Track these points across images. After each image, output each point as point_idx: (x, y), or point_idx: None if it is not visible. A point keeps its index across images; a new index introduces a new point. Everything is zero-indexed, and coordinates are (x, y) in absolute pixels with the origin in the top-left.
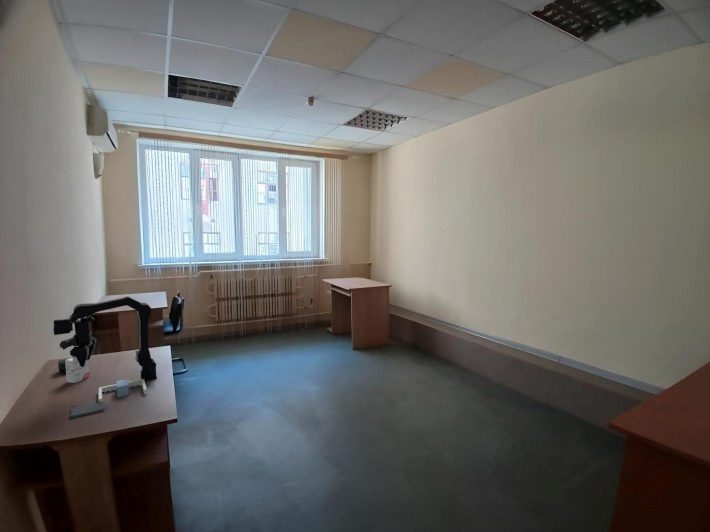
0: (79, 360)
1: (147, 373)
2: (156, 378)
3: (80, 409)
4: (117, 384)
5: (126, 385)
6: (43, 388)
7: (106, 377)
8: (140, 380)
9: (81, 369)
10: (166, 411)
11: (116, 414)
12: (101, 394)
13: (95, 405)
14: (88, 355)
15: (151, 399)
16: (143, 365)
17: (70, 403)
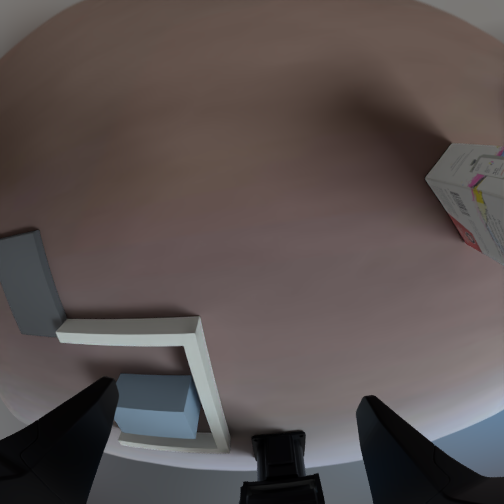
0: (38, 435)
1: (258, 467)
2: (256, 459)
3: (20, 267)
4: (134, 410)
5: (119, 426)
6: (415, 44)
7: (408, 318)
8: (217, 446)
9: (485, 230)
10: None
11: (13, 354)
12: (97, 343)
13: (42, 313)
14: (375, 455)
15: None
16: (240, 498)
17: (107, 204)
